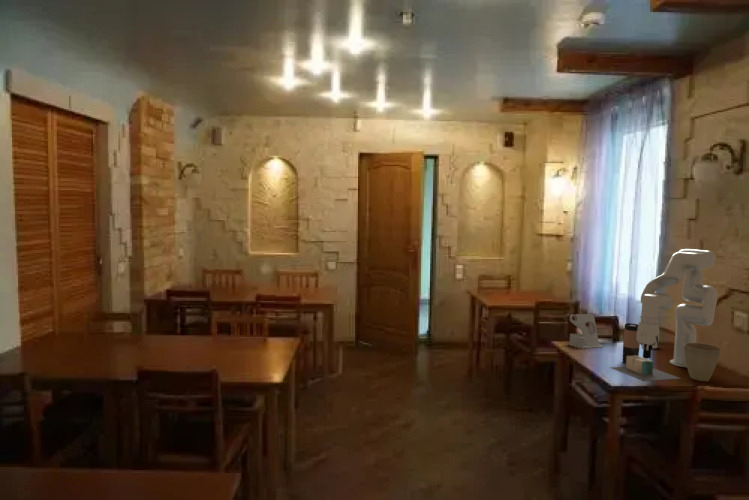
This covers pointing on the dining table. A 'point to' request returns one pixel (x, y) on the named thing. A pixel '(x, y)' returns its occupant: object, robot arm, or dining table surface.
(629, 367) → the maple block
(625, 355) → the travel mug
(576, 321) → the phone holder
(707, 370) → the plant pot
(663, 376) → the rubber mat
